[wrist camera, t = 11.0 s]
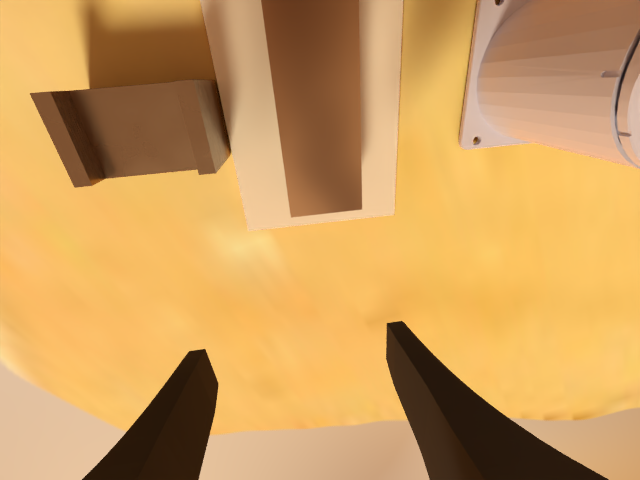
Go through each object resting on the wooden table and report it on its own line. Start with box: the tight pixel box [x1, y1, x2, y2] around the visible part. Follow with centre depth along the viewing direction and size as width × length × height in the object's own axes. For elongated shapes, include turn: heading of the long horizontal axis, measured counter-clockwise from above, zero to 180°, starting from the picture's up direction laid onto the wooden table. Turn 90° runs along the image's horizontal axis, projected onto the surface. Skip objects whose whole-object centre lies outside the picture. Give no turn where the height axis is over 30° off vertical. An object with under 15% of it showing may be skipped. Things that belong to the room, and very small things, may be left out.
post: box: [30, 79, 230, 187], centre depth 15 cm, size 7×4×4 cm, turn 94°
